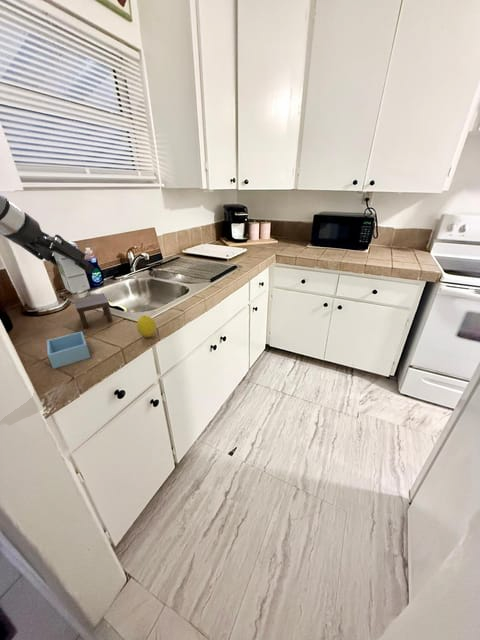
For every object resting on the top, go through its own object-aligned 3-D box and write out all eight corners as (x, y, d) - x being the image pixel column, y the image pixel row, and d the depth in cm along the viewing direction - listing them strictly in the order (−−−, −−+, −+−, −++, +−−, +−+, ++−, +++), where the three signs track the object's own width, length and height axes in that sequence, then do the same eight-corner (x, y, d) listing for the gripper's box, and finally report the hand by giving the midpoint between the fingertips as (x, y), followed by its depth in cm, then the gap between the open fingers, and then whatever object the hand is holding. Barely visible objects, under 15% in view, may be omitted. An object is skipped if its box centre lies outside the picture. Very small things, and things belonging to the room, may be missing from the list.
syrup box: (90, 288, 84) (77, 242, 77) (70, 293, 80) (55, 246, 73) (84, 284, 87) (71, 240, 80) (64, 289, 83) (49, 243, 76)
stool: (79, 318, 97) (73, 299, 94) (108, 311, 102) (103, 293, 99) (83, 329, 90) (76, 308, 86) (113, 321, 95) (108, 301, 91)
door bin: (51, 352, 78) (46, 340, 76) (86, 343, 82) (82, 331, 80) (53, 368, 71) (47, 355, 69) (90, 357, 76) (86, 344, 74)
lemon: (160, 334, 87) (157, 313, 83) (149, 343, 82) (144, 321, 79) (147, 331, 89) (143, 310, 85) (135, 339, 84) (130, 317, 81)
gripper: (54, 211, 62) (112, 260, 83) (-16, 209, 65) (57, 257, 87) (43, 238, 60) (105, 281, 81) (-29, 235, 63) (49, 277, 85)
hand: (80, 269), depth 84 cm, fingers closed on syrup box, 7 cm apart
